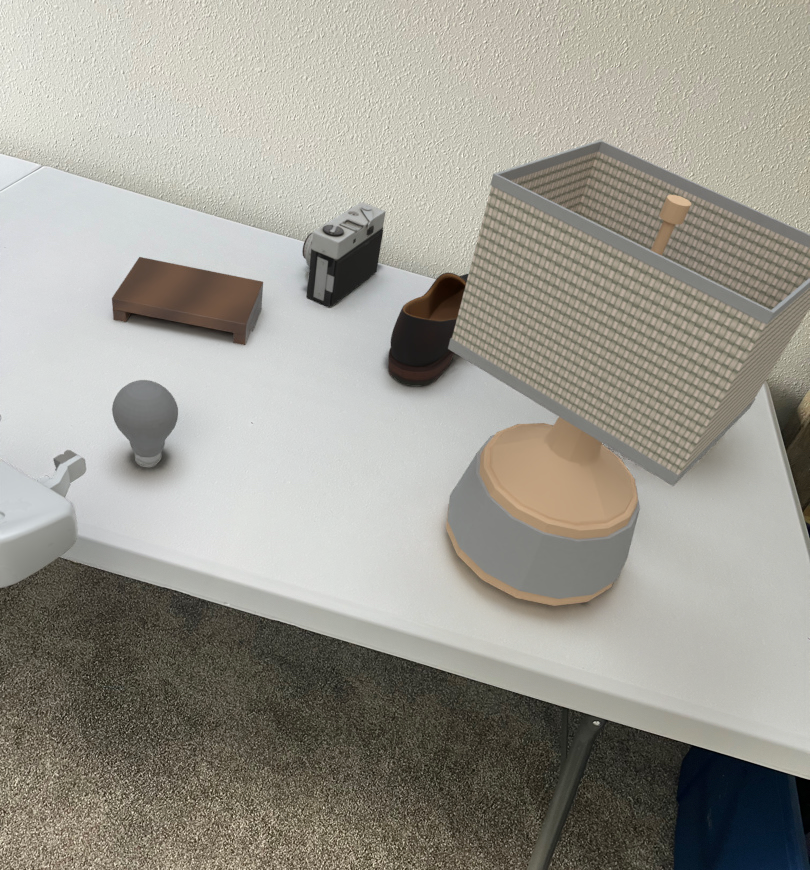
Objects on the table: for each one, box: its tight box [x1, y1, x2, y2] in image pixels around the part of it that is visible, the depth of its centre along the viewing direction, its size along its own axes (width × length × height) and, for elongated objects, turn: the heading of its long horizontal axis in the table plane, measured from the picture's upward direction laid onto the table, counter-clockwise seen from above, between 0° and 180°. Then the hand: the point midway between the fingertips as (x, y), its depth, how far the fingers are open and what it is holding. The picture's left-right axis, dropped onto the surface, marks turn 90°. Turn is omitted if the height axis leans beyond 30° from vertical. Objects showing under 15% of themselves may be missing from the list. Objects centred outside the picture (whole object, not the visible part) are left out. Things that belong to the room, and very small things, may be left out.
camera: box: [301, 201, 387, 309], centre depth 110 cm, size 14×8×10 cm, turn 154°
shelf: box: [111, 256, 264, 346], centre depth 99 cm, size 16×11×4 cm
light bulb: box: [111, 379, 179, 468], centre depth 76 cm, size 6×6×10 cm
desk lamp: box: [445, 139, 810, 607], centre depth 69 cm, size 22×19×37 cm
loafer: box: [387, 272, 469, 387], centre depth 104 cm, size 10×28×10 cm, turn 154°
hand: (36, 434), depth 64 cm, fingers open, 8 cm apart
